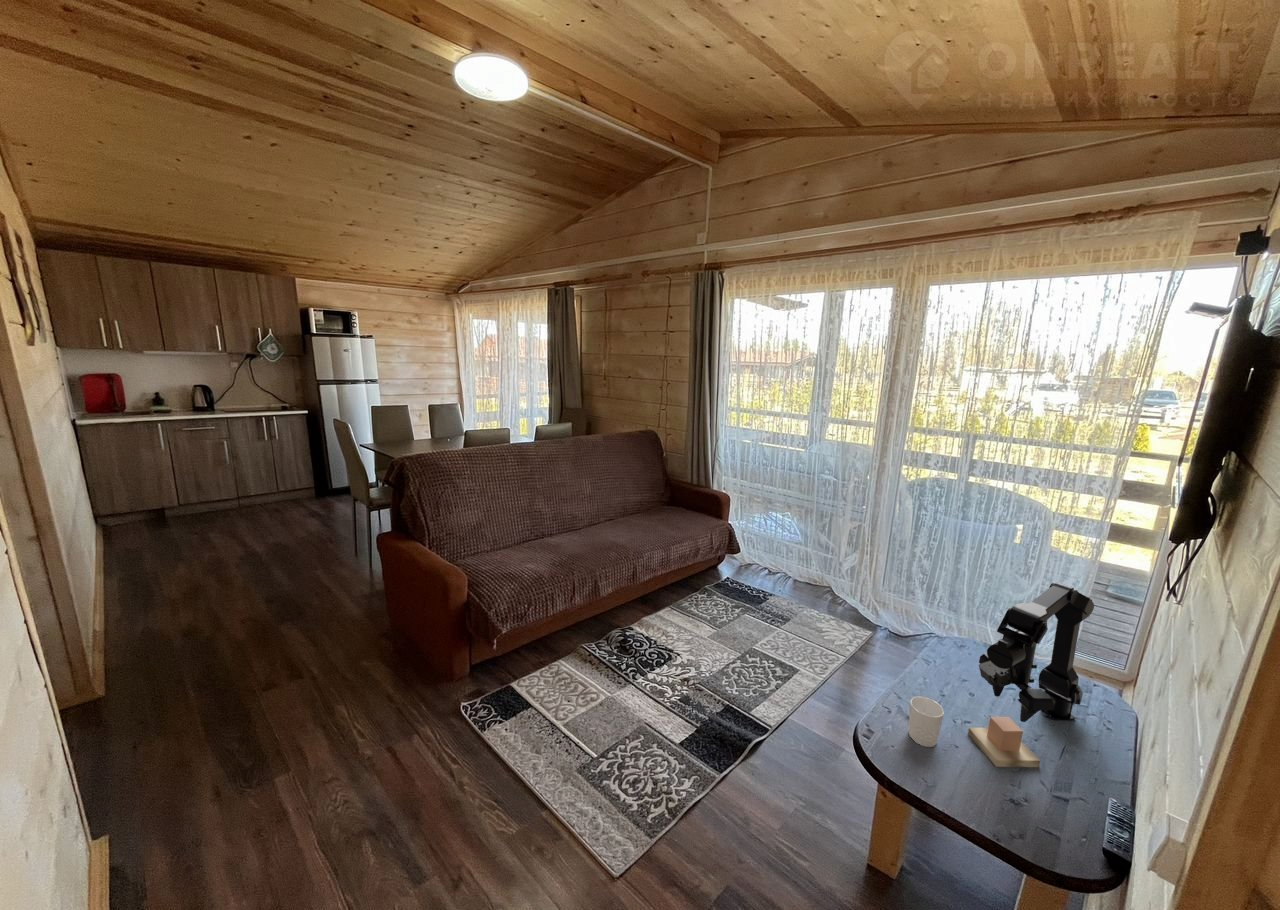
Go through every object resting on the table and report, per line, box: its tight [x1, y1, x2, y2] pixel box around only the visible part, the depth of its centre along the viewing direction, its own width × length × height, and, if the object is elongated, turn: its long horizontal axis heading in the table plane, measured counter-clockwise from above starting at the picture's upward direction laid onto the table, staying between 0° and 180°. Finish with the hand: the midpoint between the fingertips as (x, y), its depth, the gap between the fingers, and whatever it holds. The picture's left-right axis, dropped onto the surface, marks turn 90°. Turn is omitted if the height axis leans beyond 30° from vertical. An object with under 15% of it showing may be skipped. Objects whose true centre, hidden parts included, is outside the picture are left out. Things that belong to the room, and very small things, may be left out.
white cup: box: [908, 696, 945, 748], centre depth 132 cm, size 8×8×10 cm
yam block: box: [987, 716, 1024, 751], centre depth 128 cm, size 5×5×6 cm
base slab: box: [967, 727, 1041, 768], centre depth 129 cm, size 11×11×2 cm
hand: (1009, 708), depth 127 cm, fingers open, 9 cm apart
